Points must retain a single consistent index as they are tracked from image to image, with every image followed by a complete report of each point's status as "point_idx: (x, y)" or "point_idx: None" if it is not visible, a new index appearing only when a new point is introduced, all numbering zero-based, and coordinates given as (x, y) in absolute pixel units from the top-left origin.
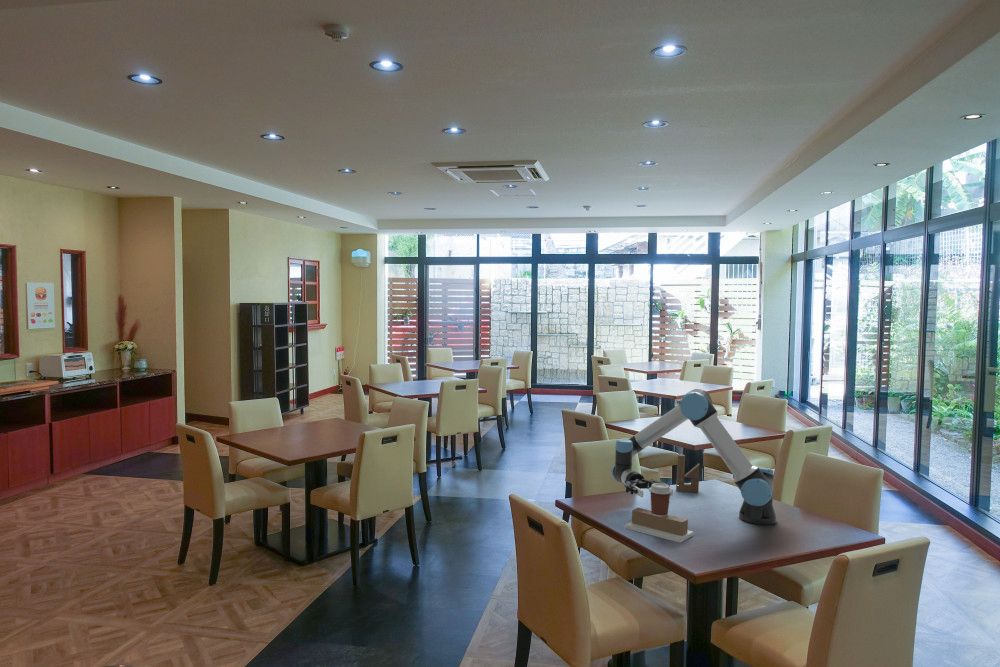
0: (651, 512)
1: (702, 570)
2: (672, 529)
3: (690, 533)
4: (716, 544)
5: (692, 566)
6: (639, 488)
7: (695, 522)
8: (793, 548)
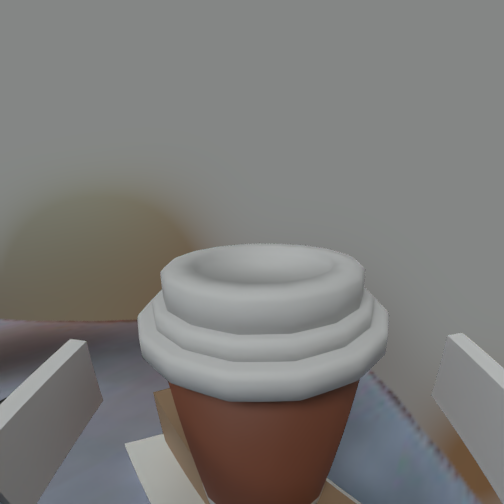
0: (321, 491)
1: None
2: None
3: (154, 436)
4: (134, 385)
5: None
6: (497, 382)
7: None
8: (20, 330)
